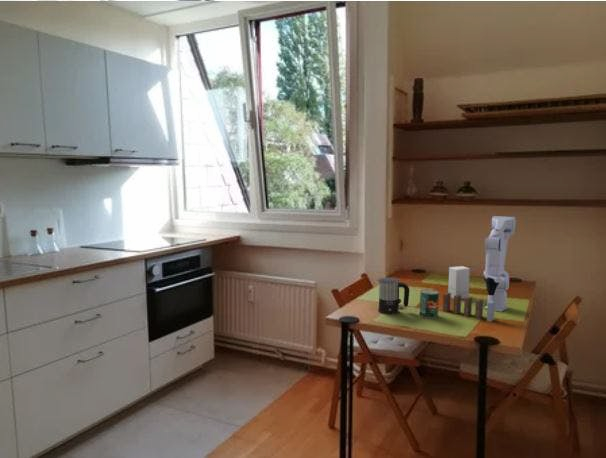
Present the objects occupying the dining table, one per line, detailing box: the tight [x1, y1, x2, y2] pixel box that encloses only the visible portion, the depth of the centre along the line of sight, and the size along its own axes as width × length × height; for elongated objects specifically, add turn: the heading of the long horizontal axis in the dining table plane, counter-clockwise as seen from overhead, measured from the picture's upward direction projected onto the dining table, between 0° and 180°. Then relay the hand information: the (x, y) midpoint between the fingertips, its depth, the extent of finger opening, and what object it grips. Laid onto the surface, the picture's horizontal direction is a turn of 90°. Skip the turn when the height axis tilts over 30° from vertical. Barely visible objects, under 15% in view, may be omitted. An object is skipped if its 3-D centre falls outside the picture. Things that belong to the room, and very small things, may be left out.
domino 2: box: [452, 295, 462, 315], centre depth 204 cm, size 4×2×8 cm, turn 136°
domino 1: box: [442, 291, 452, 313], centre depth 208 cm, size 4×2×8 cm, turn 136°
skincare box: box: [447, 265, 471, 300], centre depth 229 cm, size 8×7×16 cm
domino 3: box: [463, 296, 473, 317], centre depth 201 cm, size 4×2×8 cm, turn 136°
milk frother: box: [377, 277, 410, 315], centre depth 209 cm, size 14×16×15 cm
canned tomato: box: [418, 288, 440, 319], centre depth 200 cm, size 8×8×11 cm
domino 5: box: [486, 301, 495, 323], centre depth 194 cm, size 4×2×8 cm, turn 137°
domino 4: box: [474, 298, 484, 320], centre depth 197 cm, size 4×2×8 cm, turn 136°
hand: (490, 295), depth 198 cm, fingers closed
